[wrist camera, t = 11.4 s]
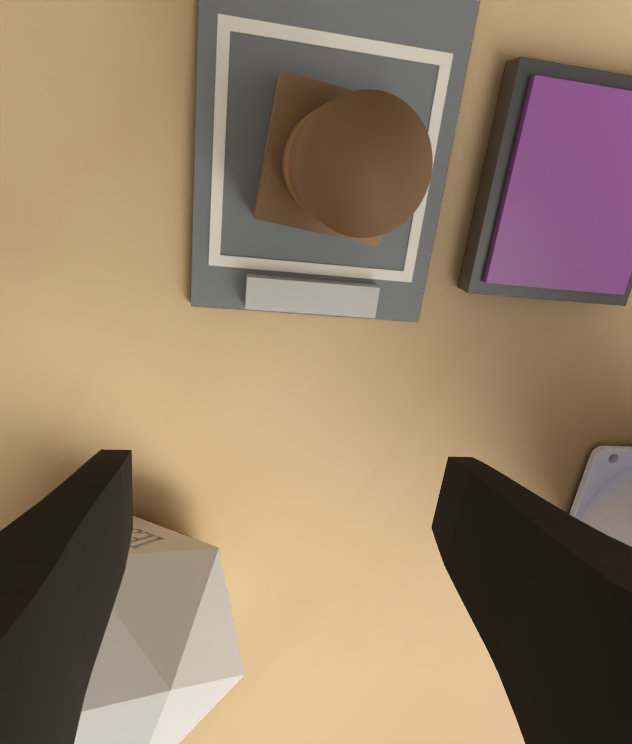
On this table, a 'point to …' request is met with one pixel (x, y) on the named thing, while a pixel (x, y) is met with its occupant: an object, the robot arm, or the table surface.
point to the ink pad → (555, 188)
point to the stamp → (341, 160)
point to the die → (162, 644)
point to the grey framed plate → (248, 136)
